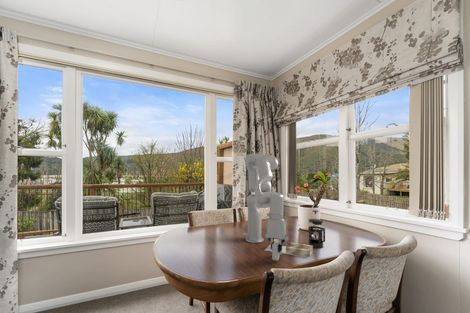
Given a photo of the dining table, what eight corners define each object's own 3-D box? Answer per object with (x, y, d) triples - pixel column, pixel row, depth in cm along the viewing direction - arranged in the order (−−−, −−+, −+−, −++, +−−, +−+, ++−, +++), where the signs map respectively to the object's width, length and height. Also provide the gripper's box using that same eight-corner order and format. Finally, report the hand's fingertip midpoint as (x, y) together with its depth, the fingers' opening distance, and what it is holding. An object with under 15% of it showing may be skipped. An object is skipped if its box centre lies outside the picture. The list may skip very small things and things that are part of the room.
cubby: (286, 253, 139) (286, 247, 139) (290, 247, 148) (290, 242, 148) (309, 257, 133) (309, 250, 133) (312, 251, 142) (312, 245, 142)
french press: (312, 249, 146) (312, 212, 148) (304, 244, 156) (304, 209, 157) (328, 248, 149) (328, 211, 150) (320, 243, 158) (319, 209, 159)
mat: (264, 250, 144) (264, 250, 144) (270, 244, 155) (270, 244, 155) (309, 258, 132) (309, 258, 132) (313, 251, 143) (313, 250, 143)
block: (270, 249, 146) (270, 240, 146) (272, 246, 150) (272, 238, 150) (278, 250, 143) (278, 241, 144) (280, 247, 148) (280, 239, 148)
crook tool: (272, 259, 126) (272, 244, 126) (278, 252, 137) (278, 238, 137) (277, 260, 125) (277, 244, 125) (283, 253, 135) (283, 239, 136)
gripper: (260, 216, 130) (259, 250, 129) (289, 219, 122) (289, 255, 121) (264, 214, 136) (264, 246, 135) (293, 216, 129) (293, 251, 128)
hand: (276, 250), depth 128 cm, fingers closed on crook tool, 3 cm apart
